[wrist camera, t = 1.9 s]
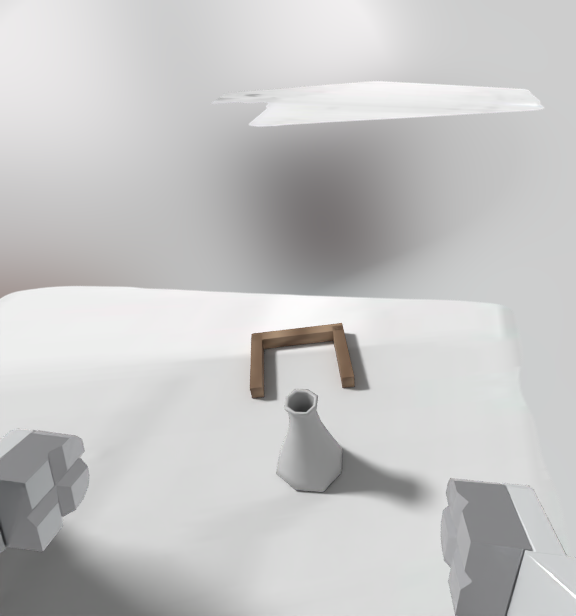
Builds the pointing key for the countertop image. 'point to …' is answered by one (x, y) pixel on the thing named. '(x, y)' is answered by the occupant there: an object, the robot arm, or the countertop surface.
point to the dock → (297, 338)
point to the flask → (307, 446)
